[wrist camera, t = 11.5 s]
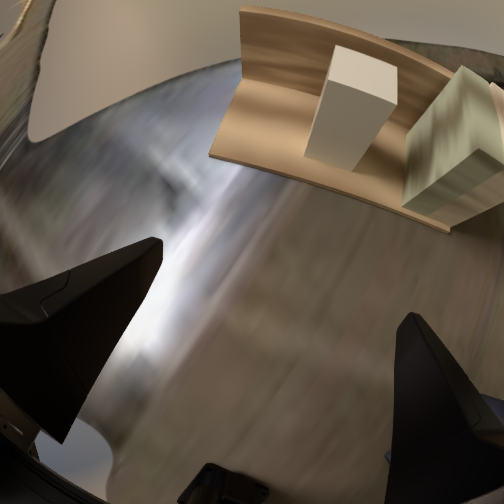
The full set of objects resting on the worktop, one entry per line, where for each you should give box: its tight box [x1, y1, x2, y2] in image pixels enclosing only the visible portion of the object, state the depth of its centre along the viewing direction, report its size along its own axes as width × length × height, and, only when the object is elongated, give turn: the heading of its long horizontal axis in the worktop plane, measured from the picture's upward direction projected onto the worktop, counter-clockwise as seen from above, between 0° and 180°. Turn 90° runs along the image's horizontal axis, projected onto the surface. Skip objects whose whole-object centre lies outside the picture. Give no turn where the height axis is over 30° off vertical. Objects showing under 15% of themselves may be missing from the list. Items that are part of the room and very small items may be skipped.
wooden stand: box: [208, 5, 504, 234], centre depth 19 cm, size 11×24×13 cm, turn 73°
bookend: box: [304, 45, 397, 172], centre depth 20 cm, size 4×4×10 cm
